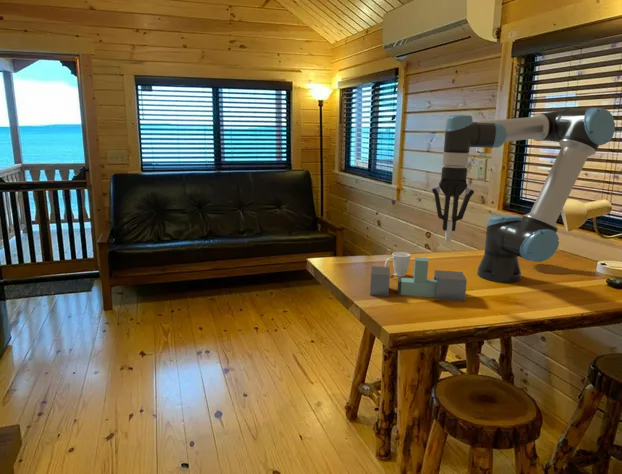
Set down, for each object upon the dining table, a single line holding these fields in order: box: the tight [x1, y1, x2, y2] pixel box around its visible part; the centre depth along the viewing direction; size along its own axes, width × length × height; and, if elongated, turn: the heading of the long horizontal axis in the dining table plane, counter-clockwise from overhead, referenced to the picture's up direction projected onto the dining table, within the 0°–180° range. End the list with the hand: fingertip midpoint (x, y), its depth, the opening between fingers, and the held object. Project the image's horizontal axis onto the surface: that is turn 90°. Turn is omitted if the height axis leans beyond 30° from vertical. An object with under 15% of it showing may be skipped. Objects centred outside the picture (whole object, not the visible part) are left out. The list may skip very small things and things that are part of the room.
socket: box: [369, 265, 391, 297], centre depth 158 cm, size 6×9×7 cm
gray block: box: [433, 269, 468, 303], centre depth 154 cm, size 9×9×7 cm
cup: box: [383, 251, 412, 278], centre depth 175 cm, size 7×10×8 cm
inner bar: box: [396, 256, 437, 298], centre depth 155 cm, size 21×4×12 cm, turn 81°
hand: (447, 240), depth 151 cm, fingers closed
